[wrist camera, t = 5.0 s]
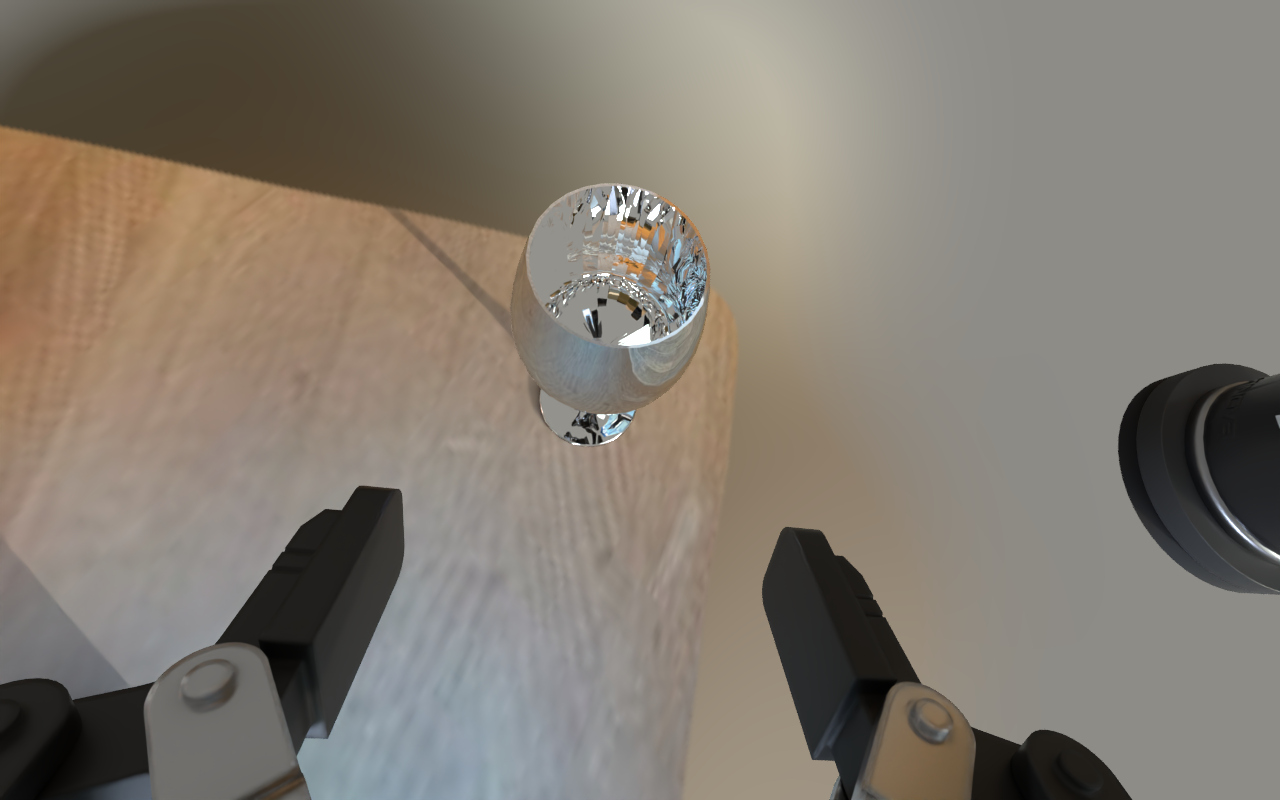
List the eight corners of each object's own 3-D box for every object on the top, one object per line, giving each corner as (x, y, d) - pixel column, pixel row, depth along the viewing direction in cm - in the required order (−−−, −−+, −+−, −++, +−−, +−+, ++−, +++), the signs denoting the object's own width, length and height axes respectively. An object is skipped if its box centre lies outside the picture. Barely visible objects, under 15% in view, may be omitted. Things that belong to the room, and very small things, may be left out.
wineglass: (673, 427, 25) (772, 315, 14) (559, 484, 24) (566, 411, 12) (615, 322, 26) (664, 138, 15) (503, 370, 25) (462, 206, 13)
